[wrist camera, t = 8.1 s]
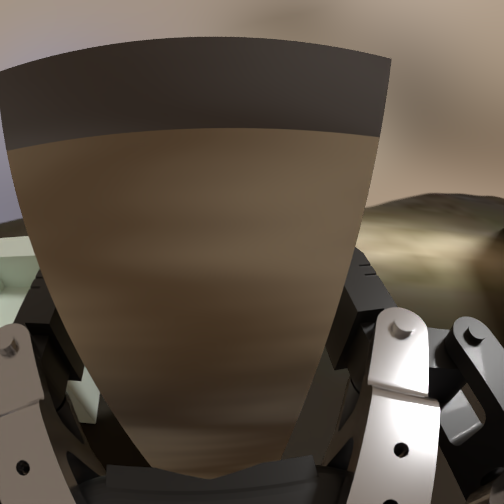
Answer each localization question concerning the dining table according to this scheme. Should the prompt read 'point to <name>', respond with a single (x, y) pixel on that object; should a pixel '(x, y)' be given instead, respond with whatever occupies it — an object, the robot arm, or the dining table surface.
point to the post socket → (10, 300)
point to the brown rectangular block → (197, 226)
